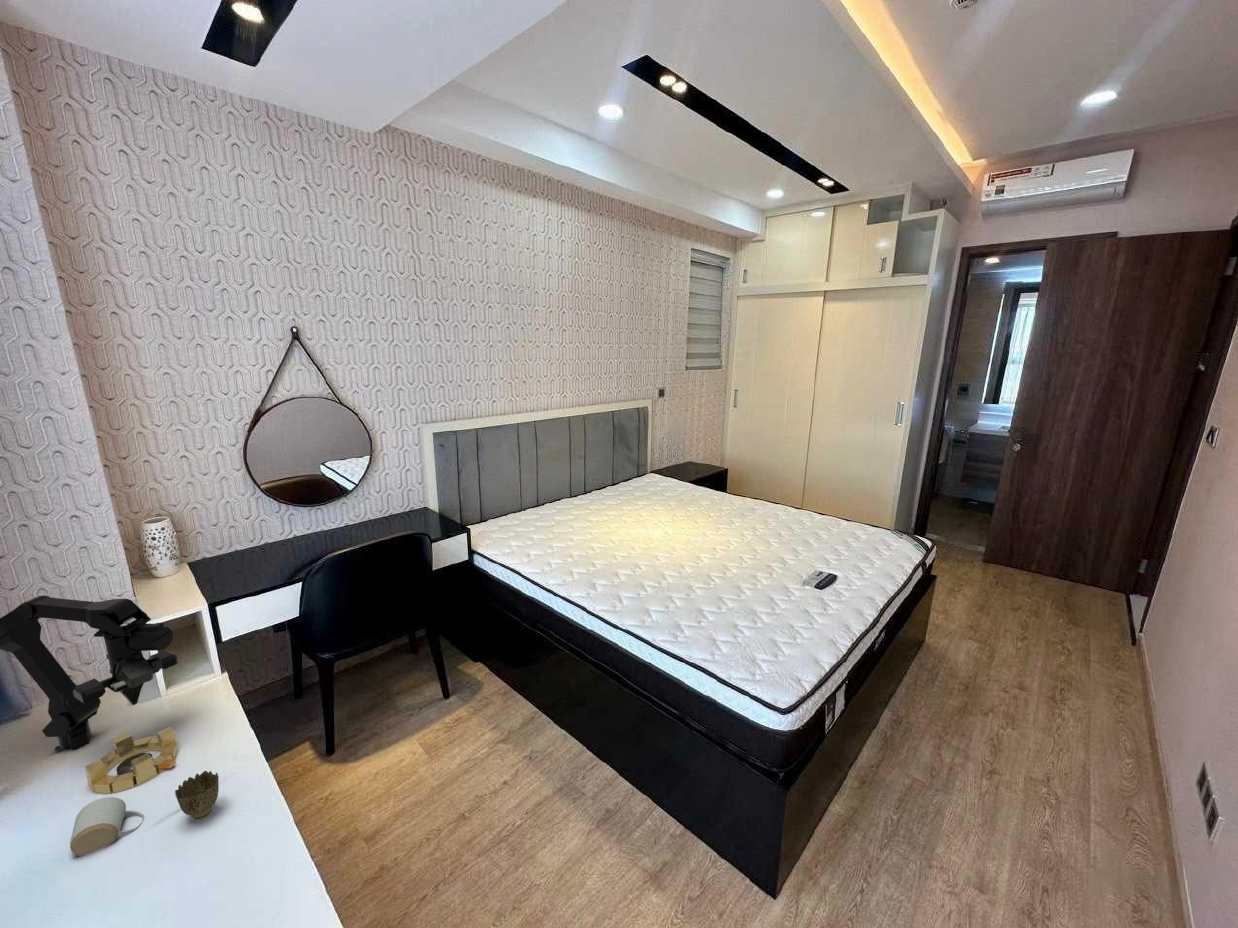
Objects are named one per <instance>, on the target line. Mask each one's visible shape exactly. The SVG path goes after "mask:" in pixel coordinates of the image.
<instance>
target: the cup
mask: <svg viewBox="0 0 1238 928" xmlns="http://www.w3.org/2000/svg"><path fill="white" fill-rule="evenodd" d="M219 778H220V777H219V773H218V772H216V773H215V774H214V773H213V772H212V770H210V771H209V772H208V770H204V771H203V772H202V773H200V775H199V773H196V774H195V775H194V777H191V776H189V777H188V778H187V780H185V779H183V782H182V785H181V784H179V785H178V786H177V787H178V789H175V791H174V795H175V798H176V800H177V803H178V805H179V807H180V809H181V811H182V813H183V814H185V815H187V816H190V817H191V818H192V819H194V820H201V819H203V818H205V817H207V816H208V815H210V813H211V812H212V811H213V810H212V809H213V806H214V805H215V804H216V802H217V800H218V797H219V790H220V789H219V787H220V786H219V782H220V781H219Z"/></svg>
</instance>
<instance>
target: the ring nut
mask: <svg viewBox="0 0 1238 928" xmlns="http://www.w3.org/2000/svg"><path fill="white" fill-rule="evenodd" d="M176 738H177V737H176V734H175V730H174V729H173V728H172V727H171V726H167V727H166V728H163V729H160V730H159V731H157V732H156V734H155V735H149V736H147V737H142V738H139V739H135V740H134V739H133V735H132V734H131V733H130V732H129V731H126V732H125V733H123V734H120V735H118V736H116V737H114V738H111V739H112V740H111V741H112V744H113V750H112V751H109V752H108V753H106V754H105V755H104V756H102V757H101V758H99V759H97V760H95V761H93V762H92V763H89V764H87V765H86V766H84V770H85V772H86V780H87V783H88V787H89V789H90V790H91V791H92V792H93V793H95V794H105V795H107V794H109V795H111V794H112V793H113V794H116V793H119V792H123V791H126V790H130V789H132V788H135V787H136V785H137V786H140V785H142V784H144V783H146V782H148V781H150V780H151V779H154V778H155V777H157V776H158V774H159V775H160V774H161V773H162V772H163V771H165V770H167V769H171V768H172V767H173V766H174V765H176V764H177V761H176V757H177V755H178V752H179V747H178V741H177V739H176ZM151 751H153V752H159V753H160V754H159V755H158V756H157V757H155V758H153V756H152V757H151V756H150V755H149V754H148V753H149V752H151ZM140 753H146V754H144V755H142V756H140V757H138V758H136V759H134V760H132V761H131V763H132V767H133V772H130V773H126V774H123V775H119V776H118V775H108V773H109V771H111V770H112V769H113V768H114V767H116V766H118V765H119V764H120V763H122V762H123V761H124V760H126V759H128V758H129V757H132V756H134V755H137V754H140ZM152 758H153V761H152Z"/></svg>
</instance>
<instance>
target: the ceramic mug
mask: <svg viewBox="0 0 1238 928" xmlns="http://www.w3.org/2000/svg"><path fill="white" fill-rule="evenodd" d="M126 809H127V805H126V802H125V801H124V800H123V799H122V798H119V797H113V796H105V797H100V798H98V799H95V800H93V801H91V802H89V803H87V804H86V805H84V806H83V807H82V808H81V809H80V810H79V812H78V813H77V815H76V817H75V820H74V825H73V829H72V834H71V838H70V841H69V844H70V846H69V847H70V852H71V853H72V854H74V855H76V856H78V857H83V856H86V855H89V854H91V853H94V852H96V851H98V850H101V849H103V848H107V847H109V846H110V845H112V844H113V843H114V842H115V841H116V840H117V839H120V838H121V839H122V838H123V837H125V836H127V835H128V836H129V834H131V833H133V832H135V831H136V830H137V829H139V828H140V827H141V826H142V825H143V822H144V821H145V815H144V814H143V813H142V812H140V811H136V810H126ZM131 817H140V818H142V820H141V822H140V823H139V825H137V826H136V827H134V828H131V829H128V830H127V829H126V830H121V827H122V824H123V820H124V819H128V818H131Z"/></svg>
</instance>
